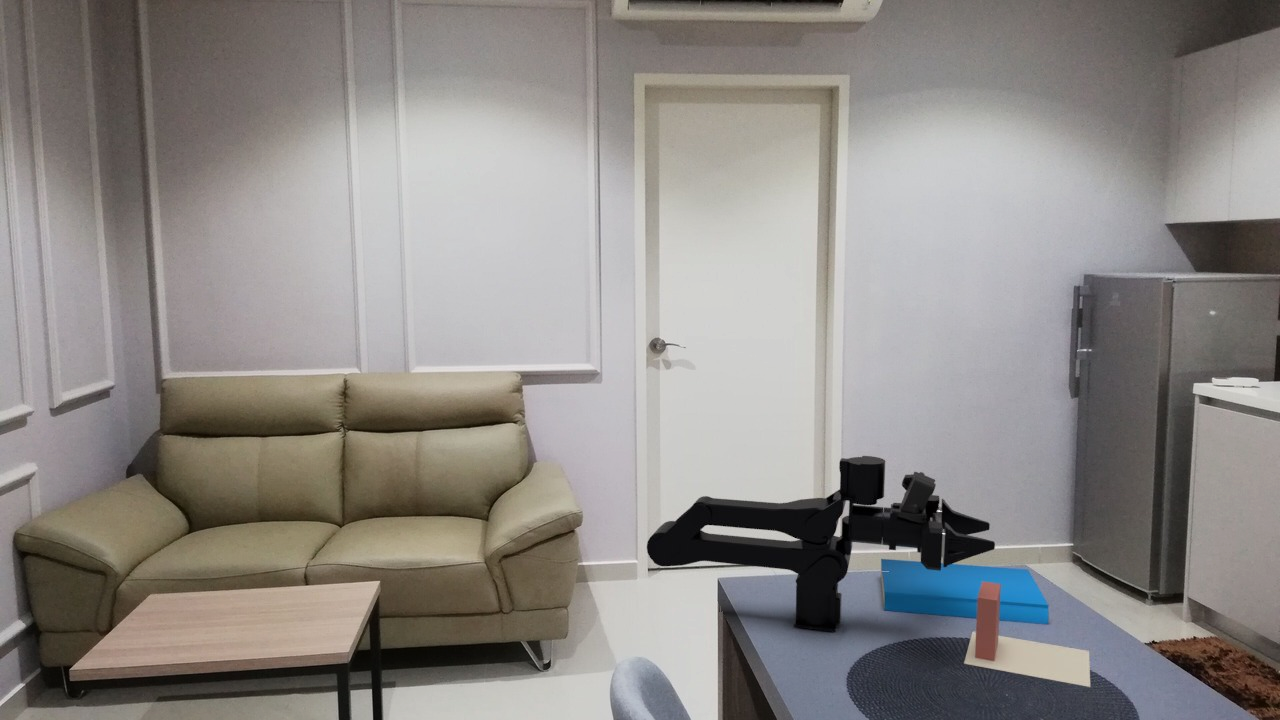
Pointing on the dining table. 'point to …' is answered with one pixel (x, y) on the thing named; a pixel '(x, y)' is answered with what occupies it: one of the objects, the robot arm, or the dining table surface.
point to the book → (960, 590)
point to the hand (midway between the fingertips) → (991, 535)
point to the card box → (987, 621)
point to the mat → (1036, 660)
